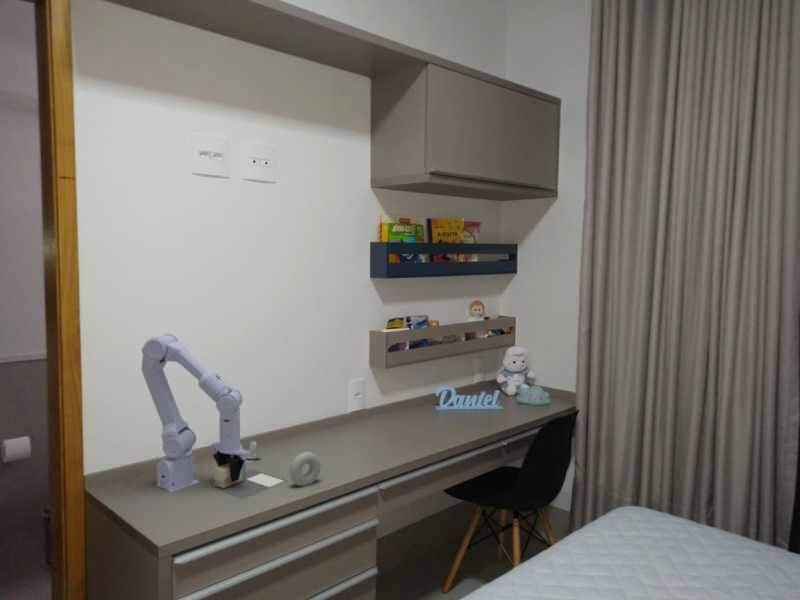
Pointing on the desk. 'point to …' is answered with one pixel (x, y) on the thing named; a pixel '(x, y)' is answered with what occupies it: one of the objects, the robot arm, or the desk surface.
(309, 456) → the donut
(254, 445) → the pacifier
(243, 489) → the mat
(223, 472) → the card box
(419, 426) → the desk surface
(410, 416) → the desk surface
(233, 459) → the robot arm
